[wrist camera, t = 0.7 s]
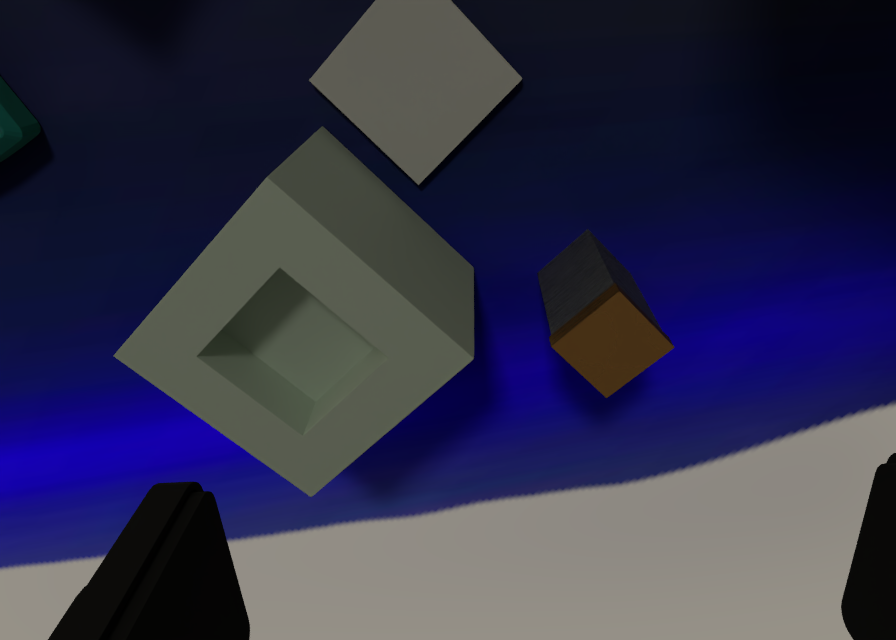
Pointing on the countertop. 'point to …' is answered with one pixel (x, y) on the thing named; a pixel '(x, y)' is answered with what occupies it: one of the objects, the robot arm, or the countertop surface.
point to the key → (599, 316)
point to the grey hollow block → (312, 318)
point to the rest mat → (415, 80)
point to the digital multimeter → (14, 123)
